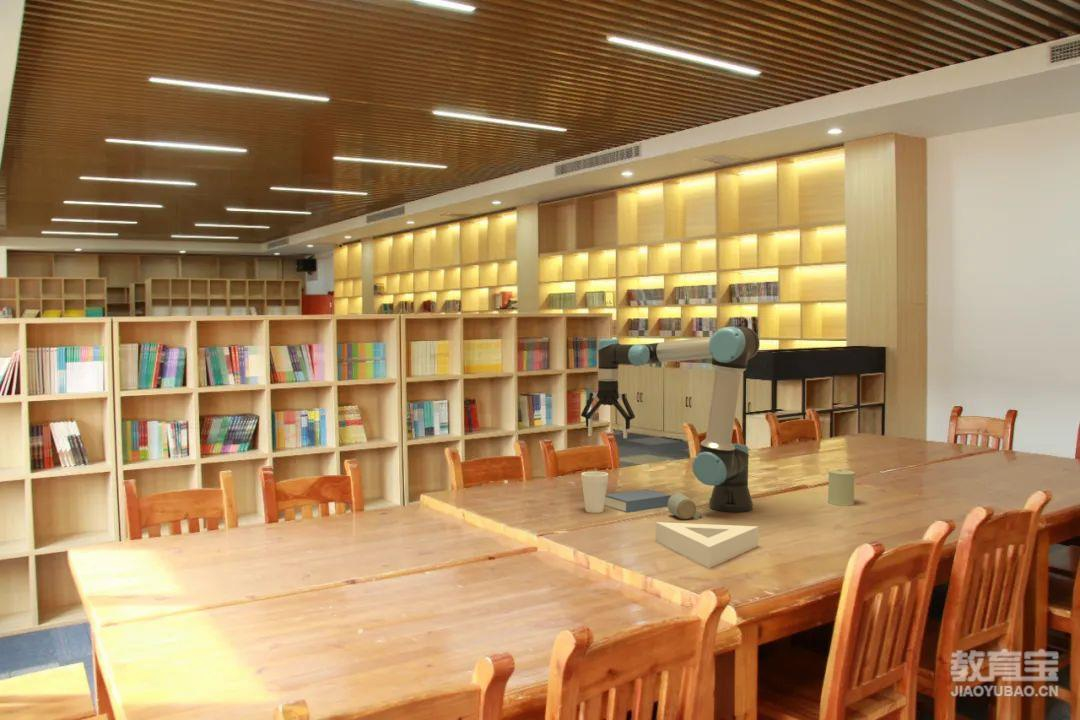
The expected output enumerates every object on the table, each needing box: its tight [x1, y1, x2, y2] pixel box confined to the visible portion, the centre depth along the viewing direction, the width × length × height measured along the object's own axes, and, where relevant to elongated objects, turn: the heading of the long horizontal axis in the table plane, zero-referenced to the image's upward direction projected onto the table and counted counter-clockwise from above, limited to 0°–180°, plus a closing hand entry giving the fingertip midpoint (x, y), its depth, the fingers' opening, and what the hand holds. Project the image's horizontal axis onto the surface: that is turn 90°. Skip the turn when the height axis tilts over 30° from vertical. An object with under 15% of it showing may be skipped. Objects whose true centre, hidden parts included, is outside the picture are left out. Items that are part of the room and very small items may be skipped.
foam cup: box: [580, 471, 609, 514], centre depth 293 cm, size 10×9×13 cm
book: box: [604, 488, 672, 514], centre depth 301 cm, size 13×20×4 cm, turn 123°
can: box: [827, 469, 856, 507], centre depth 307 cm, size 9×9×12 cm
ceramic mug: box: [667, 492, 703, 520], centre depth 283 cm, size 11×8×8 cm
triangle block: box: [655, 521, 759, 569], centre depth 243 cm, size 30×26×6 cm
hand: (607, 437), depth 313 cm, fingers open, 13 cm apart
